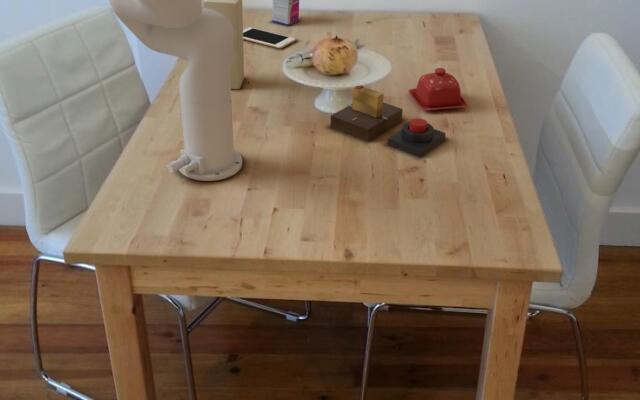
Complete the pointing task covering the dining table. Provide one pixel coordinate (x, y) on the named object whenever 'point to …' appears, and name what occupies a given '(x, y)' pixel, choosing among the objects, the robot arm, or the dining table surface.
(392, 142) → the alarm box
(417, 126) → the alarm button
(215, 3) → the toy refrigerator
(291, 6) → the supplement box
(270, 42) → the cell phone
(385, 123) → the plate
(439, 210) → the dining table surface
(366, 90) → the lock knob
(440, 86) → the butter dish
